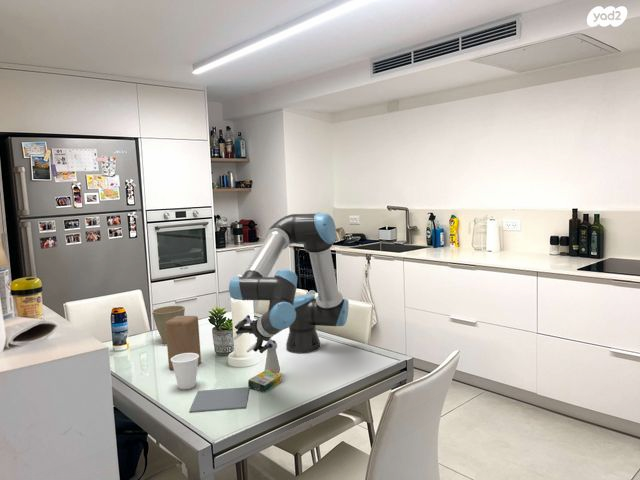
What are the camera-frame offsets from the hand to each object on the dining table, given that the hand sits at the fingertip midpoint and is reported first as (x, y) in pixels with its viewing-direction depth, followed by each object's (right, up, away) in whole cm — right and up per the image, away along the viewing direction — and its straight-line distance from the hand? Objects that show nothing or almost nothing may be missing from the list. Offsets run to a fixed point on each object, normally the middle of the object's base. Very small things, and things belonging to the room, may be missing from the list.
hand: (242, 342), depth 174 cm
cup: (-21, -16, +1) cm, 26 cm away
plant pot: (-44, -12, +57) cm, 73 cm away
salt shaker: (+10, -14, +7) cm, 19 cm away
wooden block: (-27, -15, +22) cm, 38 cm away
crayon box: (+5, -14, -6) cm, 16 cm away
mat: (-6, -17, -12) cm, 21 cm away
